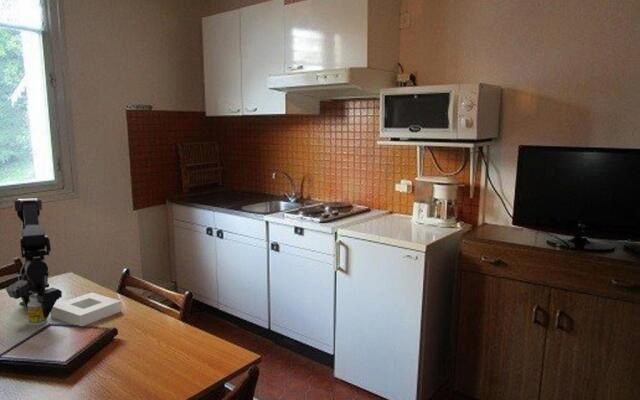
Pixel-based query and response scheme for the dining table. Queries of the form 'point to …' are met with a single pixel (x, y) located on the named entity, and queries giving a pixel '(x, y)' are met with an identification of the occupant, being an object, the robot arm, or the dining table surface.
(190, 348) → the dining table surface
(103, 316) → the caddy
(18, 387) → the dining table surface
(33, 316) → the supplement bottle
